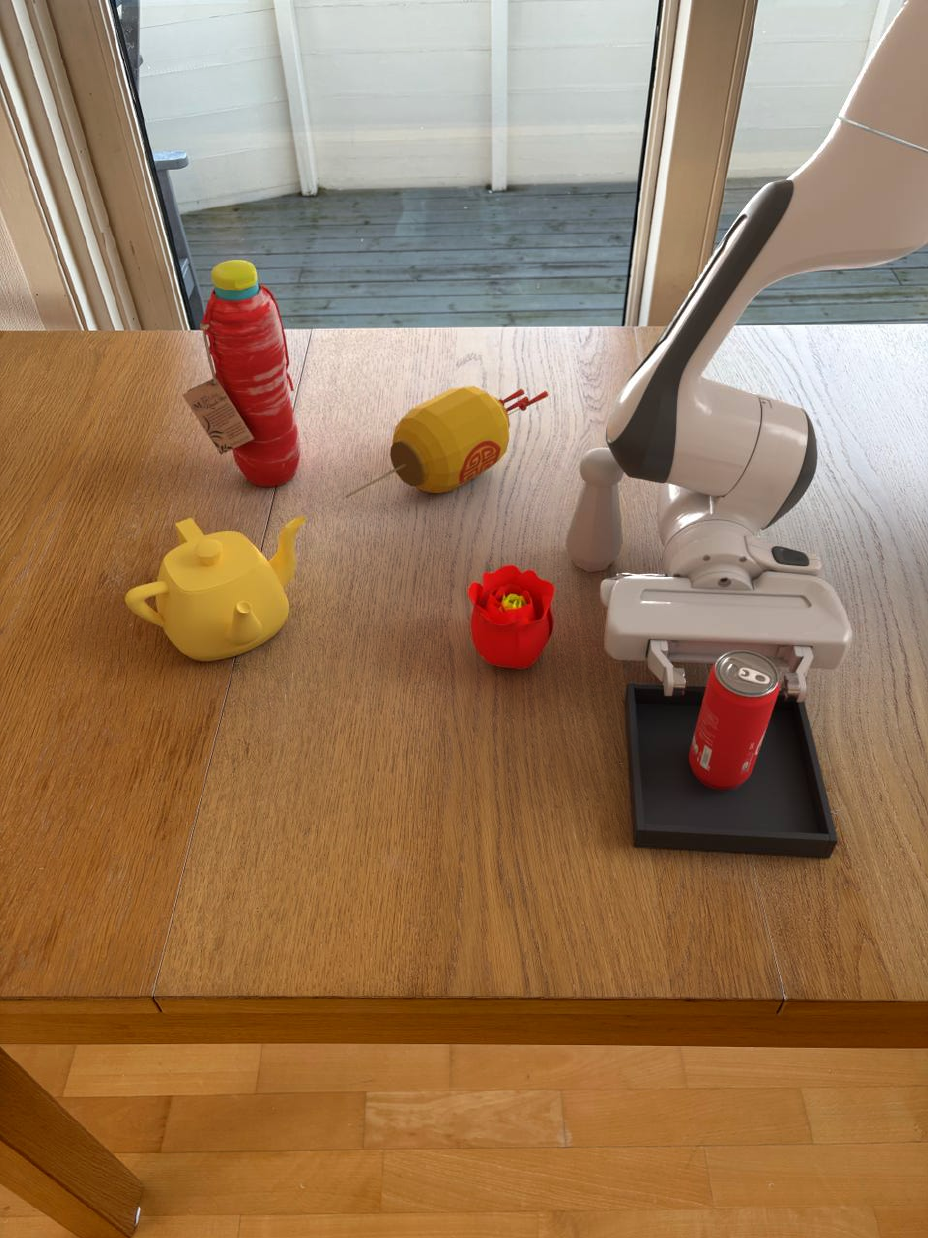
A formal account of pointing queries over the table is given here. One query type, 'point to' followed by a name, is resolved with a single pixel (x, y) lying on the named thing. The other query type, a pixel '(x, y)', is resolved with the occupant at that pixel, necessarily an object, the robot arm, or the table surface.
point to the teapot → (219, 592)
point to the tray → (734, 819)
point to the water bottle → (247, 378)
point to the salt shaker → (597, 513)
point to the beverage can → (733, 719)
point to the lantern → (451, 438)
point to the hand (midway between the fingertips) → (735, 694)
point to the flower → (511, 616)
